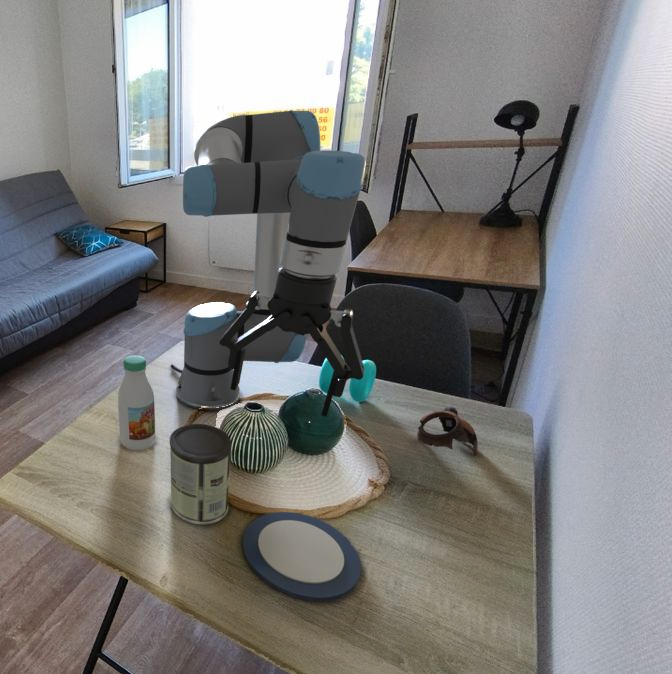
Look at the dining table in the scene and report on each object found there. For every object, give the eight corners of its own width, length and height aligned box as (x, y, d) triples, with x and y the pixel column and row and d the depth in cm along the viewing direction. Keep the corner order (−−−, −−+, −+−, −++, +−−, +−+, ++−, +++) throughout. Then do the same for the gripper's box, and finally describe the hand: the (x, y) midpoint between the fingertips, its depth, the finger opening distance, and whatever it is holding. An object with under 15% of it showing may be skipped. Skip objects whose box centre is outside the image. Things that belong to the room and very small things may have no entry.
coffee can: (187, 478, 98) (188, 417, 93) (237, 500, 92) (242, 435, 86) (158, 508, 91) (157, 444, 86) (210, 534, 85) (213, 466, 79)
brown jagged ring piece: (484, 467, 95) (469, 437, 92) (426, 470, 101) (410, 442, 99) (479, 422, 103) (465, 392, 100) (425, 427, 109) (411, 400, 107)
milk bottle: (116, 448, 109) (111, 366, 101) (124, 428, 115) (120, 350, 107) (151, 453, 106) (149, 369, 98) (158, 432, 113) (156, 352, 105)
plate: (222, 557, 80) (222, 551, 80) (273, 501, 91) (274, 496, 90) (333, 624, 69) (334, 618, 68) (377, 551, 79) (378, 545, 79)
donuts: (360, 410, 114) (367, 371, 110) (314, 397, 121) (319, 360, 117) (373, 392, 121) (380, 355, 117) (329, 381, 127) (334, 345, 123)
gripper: (211, 262, 72) (193, 386, 82) (413, 298, 61) (365, 437, 71) (225, 249, 78) (208, 366, 88) (413, 279, 67) (368, 410, 76)
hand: (278, 398), depth 79 cm, fingers open, 13 cm apart
